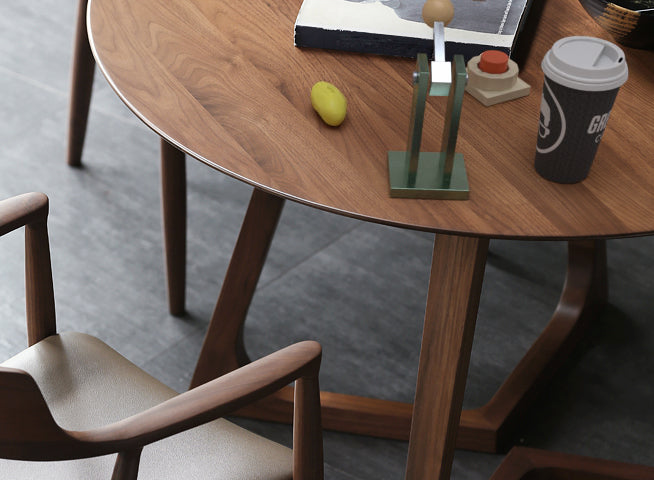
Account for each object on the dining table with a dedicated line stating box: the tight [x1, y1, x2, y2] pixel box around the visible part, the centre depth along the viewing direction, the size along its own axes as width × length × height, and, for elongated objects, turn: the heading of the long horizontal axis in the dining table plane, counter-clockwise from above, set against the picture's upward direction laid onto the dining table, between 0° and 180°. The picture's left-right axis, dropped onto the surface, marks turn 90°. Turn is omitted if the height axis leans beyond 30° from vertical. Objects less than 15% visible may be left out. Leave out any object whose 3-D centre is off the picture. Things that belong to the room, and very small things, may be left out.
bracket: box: [386, 53, 470, 201], centre depth 121 cm, size 8×9×15 cm
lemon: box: [310, 80, 348, 127], centre depth 135 cm, size 4×8×4 cm, turn 12°
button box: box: [464, 54, 532, 107], centre depth 142 cm, size 8×7×3 cm
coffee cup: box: [533, 35, 629, 185], centre depth 124 cm, size 10×10×15 cm
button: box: [479, 49, 510, 74], centre depth 141 cm, size 4×4×2 cm
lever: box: [421, 0, 455, 97], centre depth 119 cm, size 12×4×4 cm, turn 179°
